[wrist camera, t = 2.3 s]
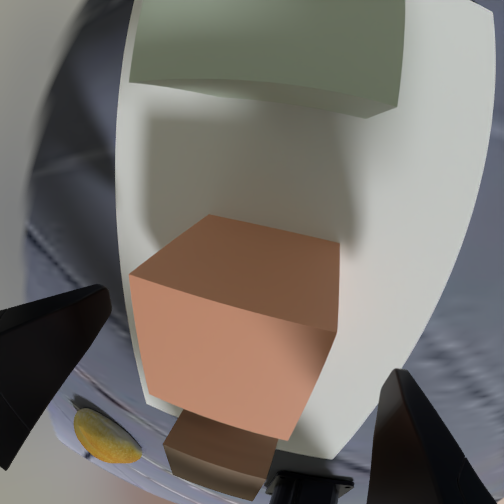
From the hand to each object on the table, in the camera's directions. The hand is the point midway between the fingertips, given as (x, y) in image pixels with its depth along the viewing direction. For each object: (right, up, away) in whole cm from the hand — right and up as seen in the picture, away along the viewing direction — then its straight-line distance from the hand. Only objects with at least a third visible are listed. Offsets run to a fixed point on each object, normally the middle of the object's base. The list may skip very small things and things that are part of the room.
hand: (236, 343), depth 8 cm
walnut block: (0, -6, +6) cm, 9 cm away
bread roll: (-15, -17, +17) cm, 29 cm away
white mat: (+1, +2, +3) cm, 4 cm away
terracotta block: (+1, +1, +3) cm, 3 cm away
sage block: (+2, +9, -1) cm, 9 cm away
